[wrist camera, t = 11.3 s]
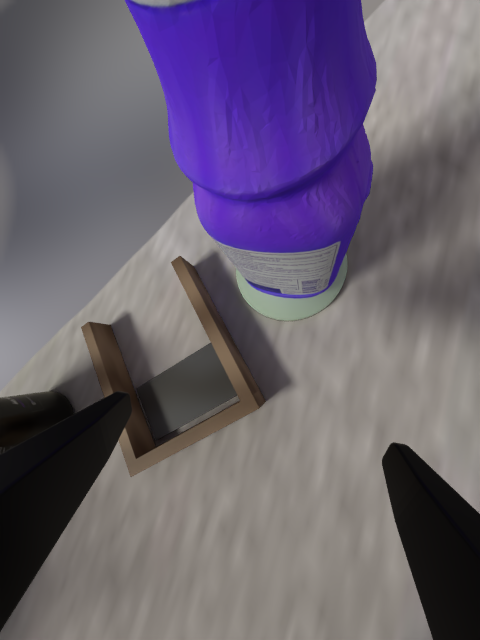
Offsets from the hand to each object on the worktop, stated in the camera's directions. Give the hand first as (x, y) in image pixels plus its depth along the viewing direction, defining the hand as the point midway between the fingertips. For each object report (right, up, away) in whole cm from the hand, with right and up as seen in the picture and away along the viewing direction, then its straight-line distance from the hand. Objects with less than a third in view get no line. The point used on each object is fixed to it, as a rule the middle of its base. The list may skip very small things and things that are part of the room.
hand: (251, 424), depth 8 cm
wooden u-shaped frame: (-7, 0, +14) cm, 15 cm away
